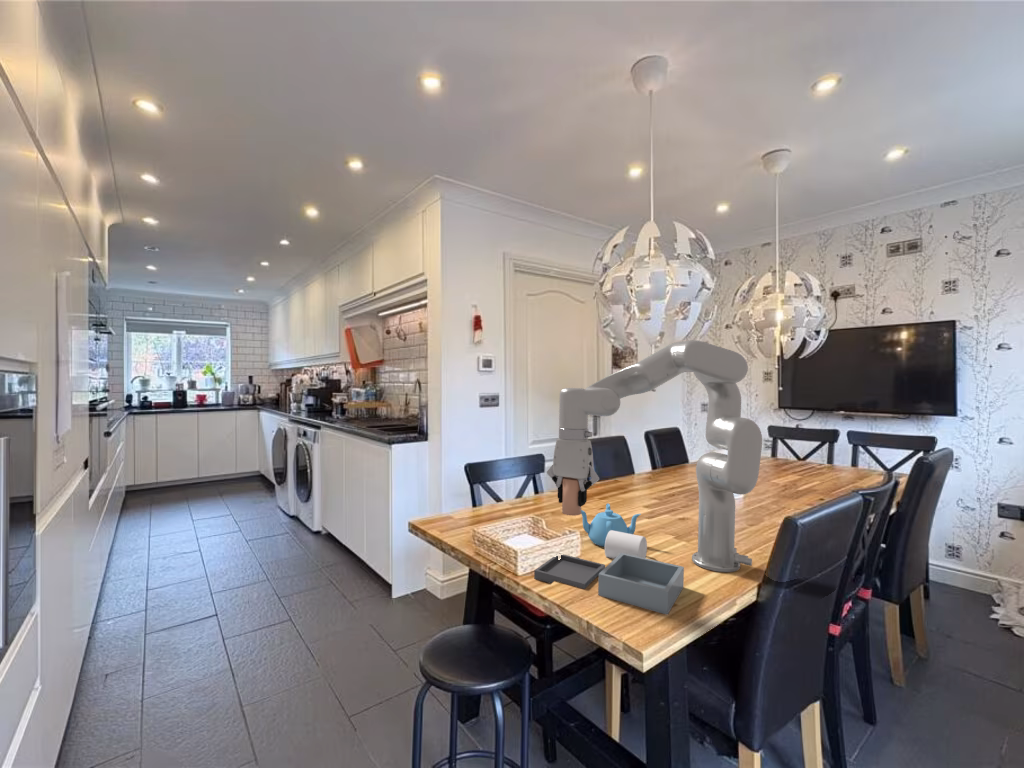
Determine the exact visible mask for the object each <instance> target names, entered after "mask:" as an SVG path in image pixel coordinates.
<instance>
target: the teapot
mask: <svg viewBox="0 0 1024 768" xmlns="http://www.w3.org/2000/svg"><path fill="white" fill-rule="evenodd" d="M580 515H581V517H582V528H583V530H584V531H585V533H587V536H588V539H590V541H591V542H592V543H593V544H595V545H596V546H599V547H603V548H605V540H606V537H607V534H608V532H609V531H610V530H613V531H618V532H623V533H628V534H633V535H635V531H636V523H637V519H638V518H639V516H641V515H642V513H636V514H633V516H632V517H631V520H630V521H631V522H630V525H629V526H628V525H627V523H626V521H625V520H624V518H623V517H622V516H621V514H618V513H616V512H614V510H612V509H611V504H610V503H606V505H605V510H604V511H601V512H598V513H597V514H595V516H594V517H593V519H592V520H591V522H590V523H589V522H588V516H587V513H586V511H585V510H582V509H581V514H580Z"/></svg>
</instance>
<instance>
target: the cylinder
mask: <svg viewBox="0 0 1024 768" xmlns="http://www.w3.org/2000/svg"><path fill="white" fill-rule="evenodd" d="M579 491H580V485H579V481H578V479H572V478H565V477H564V478H563V492H562V503H561V504H562V505H561V507H562V508H561V513H562V514H564V515H566V516H580V515H582V514H581V510H582V506H578V492H579Z"/></svg>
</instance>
